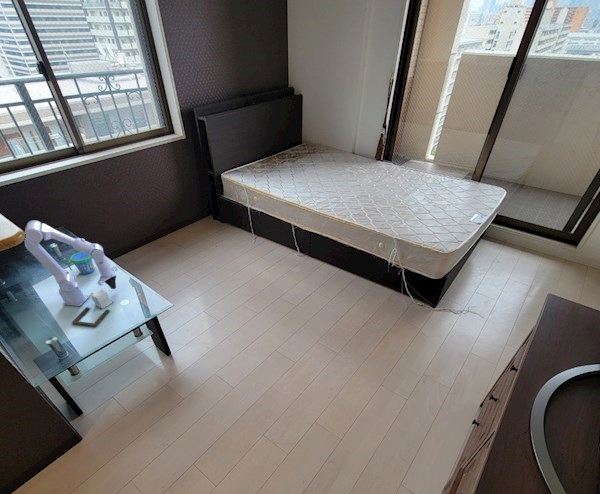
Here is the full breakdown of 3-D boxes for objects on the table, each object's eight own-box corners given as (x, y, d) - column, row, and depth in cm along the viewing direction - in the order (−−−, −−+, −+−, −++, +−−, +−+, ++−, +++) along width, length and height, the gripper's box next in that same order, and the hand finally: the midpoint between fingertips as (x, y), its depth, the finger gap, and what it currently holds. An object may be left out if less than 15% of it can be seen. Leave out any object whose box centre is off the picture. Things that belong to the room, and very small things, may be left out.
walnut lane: (72, 324, 167) (71, 322, 166) (87, 308, 176) (86, 307, 175) (95, 327, 166) (94, 325, 165) (109, 311, 174) (108, 309, 173)
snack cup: (100, 262, 207) (93, 248, 200) (103, 271, 201) (96, 256, 194) (71, 270, 201) (63, 255, 194) (74, 279, 194) (66, 264, 187)
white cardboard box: (112, 302, 179) (107, 291, 174) (102, 309, 176) (96, 298, 170) (105, 298, 182) (100, 287, 177) (95, 305, 178) (89, 294, 173)
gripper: (102, 276, 170) (112, 297, 179) (118, 260, 180) (127, 281, 189) (89, 274, 171) (100, 295, 180) (106, 259, 181) (116, 279, 190)
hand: (113, 288), depth 185 cm, fingers closed
